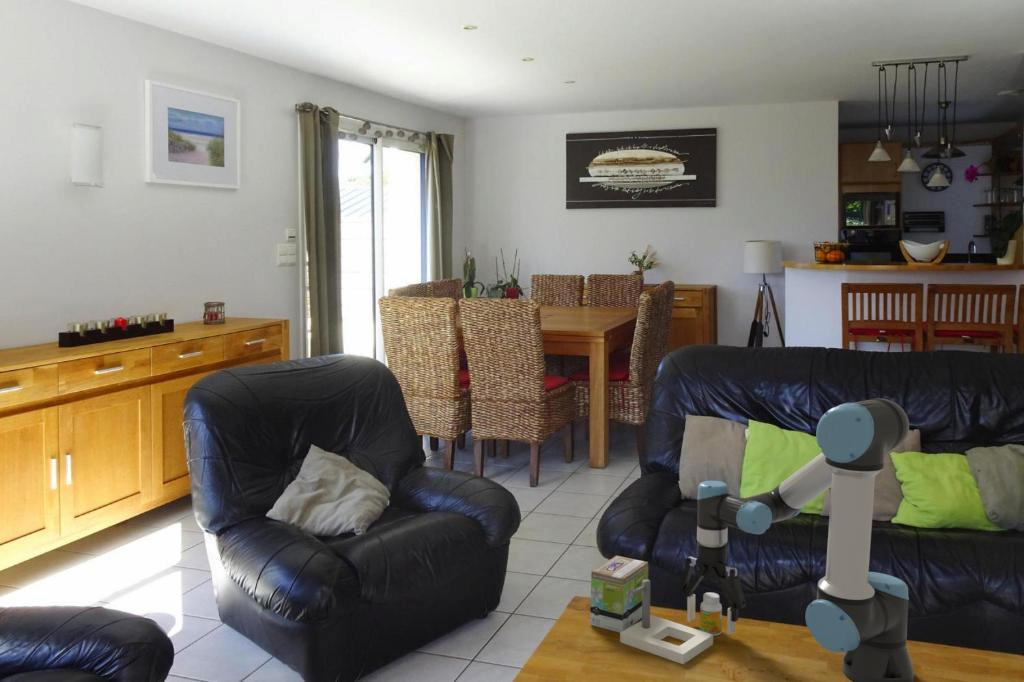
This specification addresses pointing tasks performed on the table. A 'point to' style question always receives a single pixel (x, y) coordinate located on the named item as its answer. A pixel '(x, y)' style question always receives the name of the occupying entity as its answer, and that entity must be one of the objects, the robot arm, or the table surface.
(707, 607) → the supplement bottle
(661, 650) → the white square-hole base
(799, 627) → the table surface
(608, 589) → the tea box
